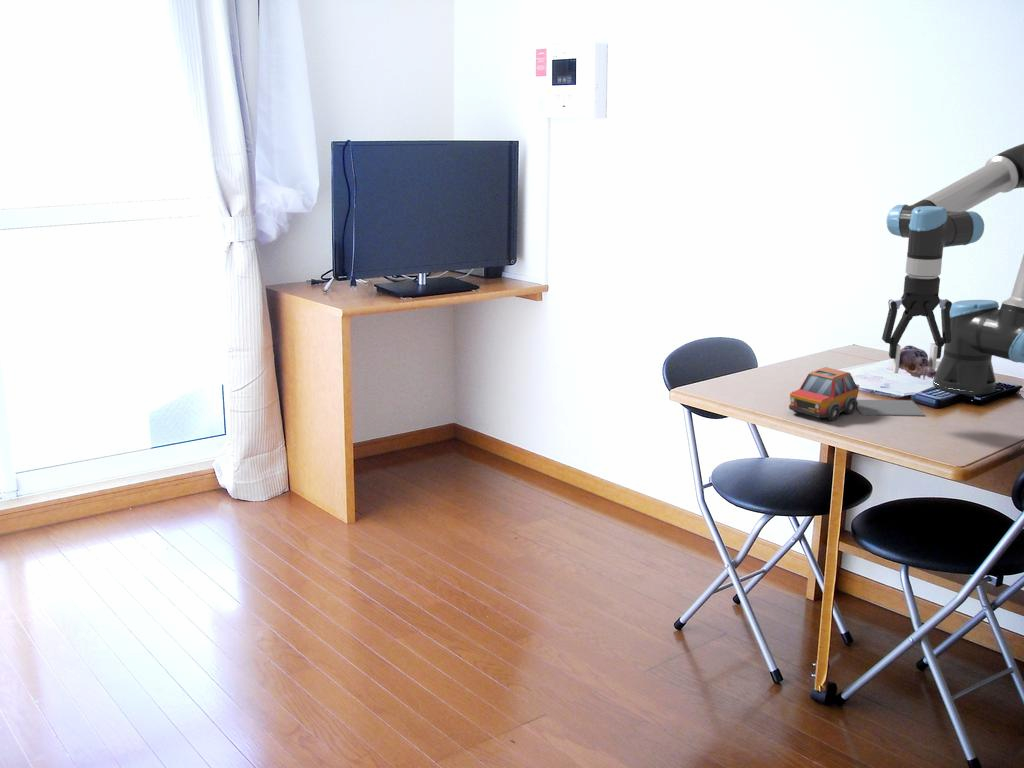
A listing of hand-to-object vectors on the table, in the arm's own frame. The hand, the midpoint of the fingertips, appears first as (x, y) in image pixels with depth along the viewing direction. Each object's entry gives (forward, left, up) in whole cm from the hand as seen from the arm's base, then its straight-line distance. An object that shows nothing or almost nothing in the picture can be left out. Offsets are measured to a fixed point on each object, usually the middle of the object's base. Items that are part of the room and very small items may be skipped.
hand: (913, 371), depth 245 cm
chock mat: (+2, -11, -13) cm, 17 cm away
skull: (0, +2, -1) cm, 2 cm away
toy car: (+18, -8, -13) cm, 24 cm away
